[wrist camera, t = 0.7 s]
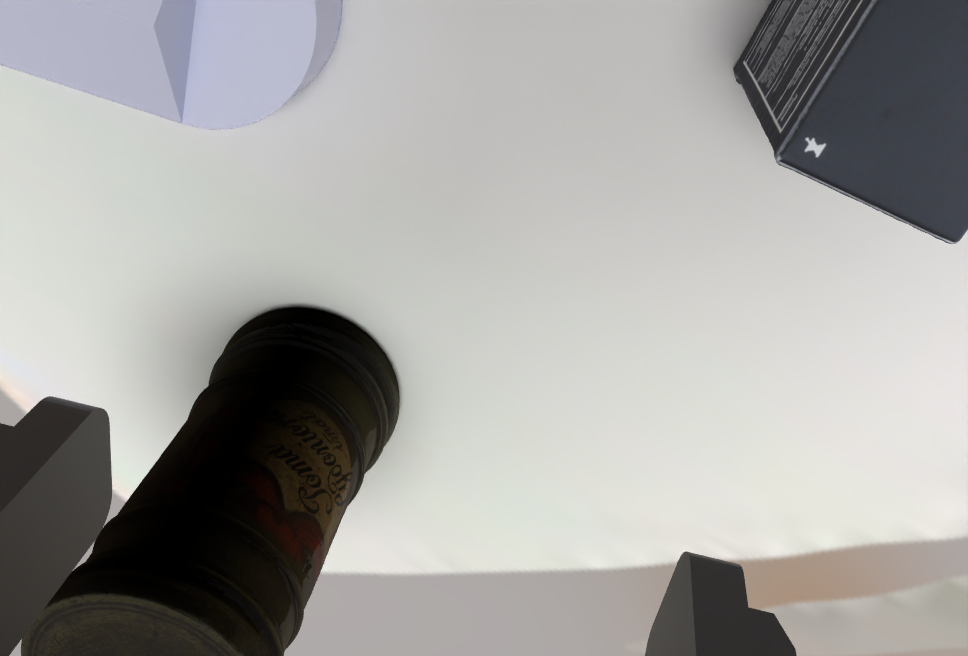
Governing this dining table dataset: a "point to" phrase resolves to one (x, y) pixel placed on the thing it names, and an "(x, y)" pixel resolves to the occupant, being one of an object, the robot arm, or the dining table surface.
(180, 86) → the tape dispenser
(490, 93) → the dining table surface
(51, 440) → the robot arm
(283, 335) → the container
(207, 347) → the dining table surface
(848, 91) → the small box
